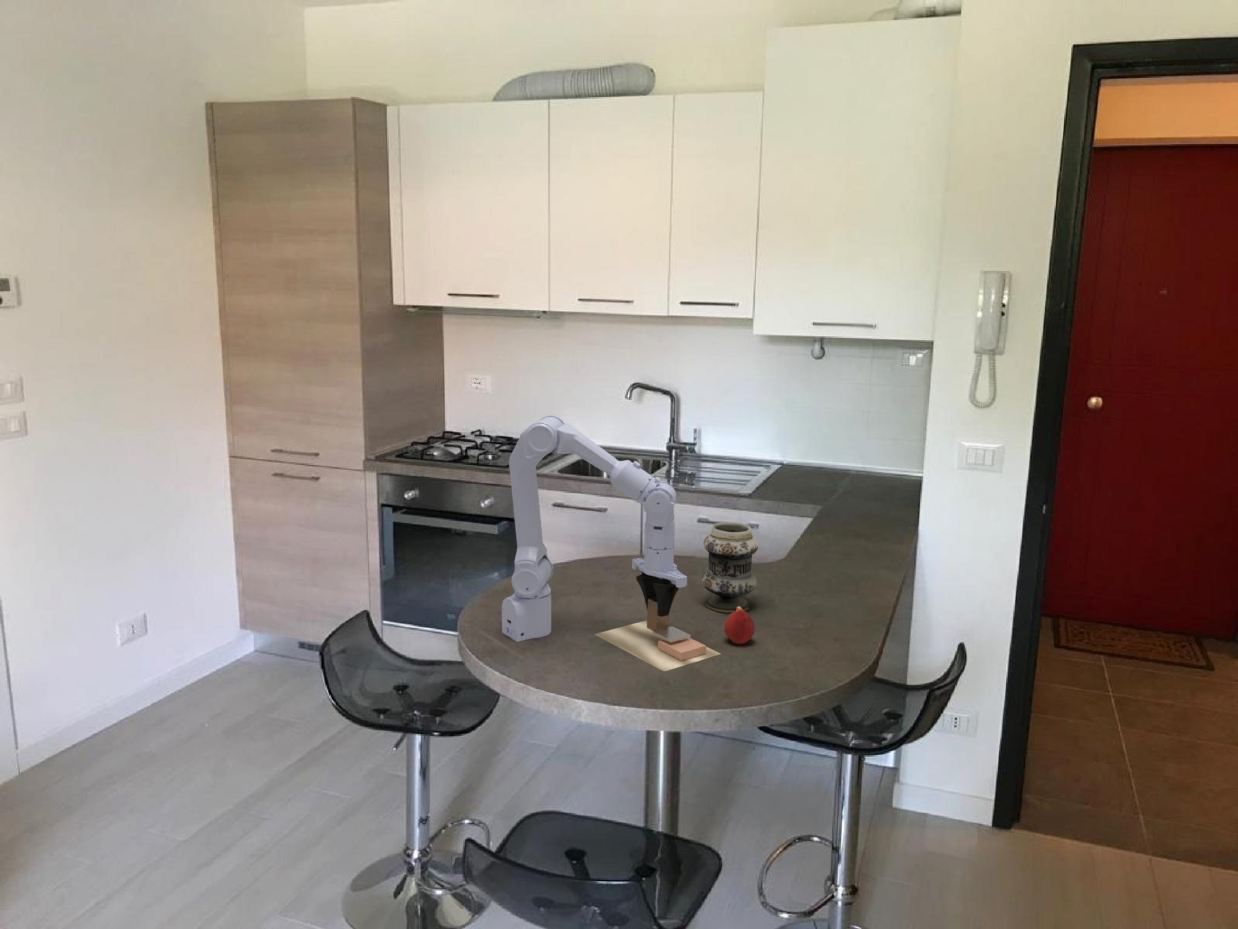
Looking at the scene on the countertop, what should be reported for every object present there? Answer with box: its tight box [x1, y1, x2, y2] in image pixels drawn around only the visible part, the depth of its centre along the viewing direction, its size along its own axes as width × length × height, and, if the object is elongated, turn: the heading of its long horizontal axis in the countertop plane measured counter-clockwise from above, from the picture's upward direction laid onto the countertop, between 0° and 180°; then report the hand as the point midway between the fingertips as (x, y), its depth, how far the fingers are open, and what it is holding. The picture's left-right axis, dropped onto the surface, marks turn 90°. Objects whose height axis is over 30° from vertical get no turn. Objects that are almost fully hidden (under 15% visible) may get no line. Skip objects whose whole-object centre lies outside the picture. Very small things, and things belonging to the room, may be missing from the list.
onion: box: [723, 607, 756, 645], centre depth 183 cm, size 6×6×8 cm
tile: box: [658, 638, 707, 661], centre depth 178 cm, size 6×2×7 cm
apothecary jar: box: [701, 521, 759, 614], centre depth 205 cm, size 12×12×18 cm
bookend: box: [646, 597, 692, 643], centre depth 181 cm, size 5×8×6 cm, turn 37°
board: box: [593, 619, 722, 673], centre depth 182 cm, size 14×22×1 cm, turn 37°
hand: (658, 612), depth 183 cm, fingers closed on bookend, 3 cm apart
